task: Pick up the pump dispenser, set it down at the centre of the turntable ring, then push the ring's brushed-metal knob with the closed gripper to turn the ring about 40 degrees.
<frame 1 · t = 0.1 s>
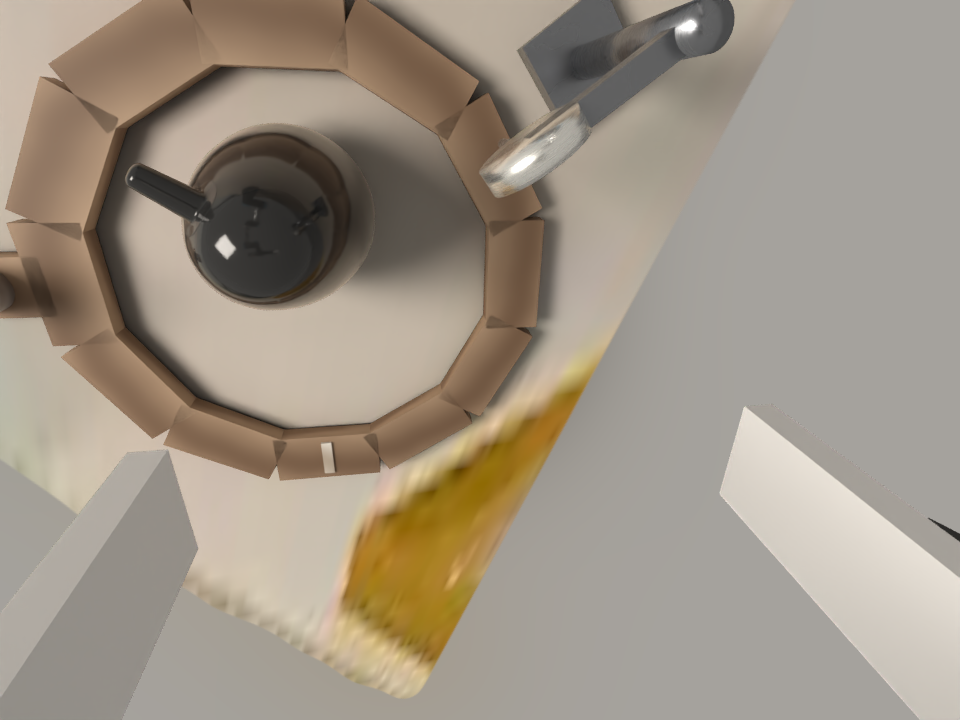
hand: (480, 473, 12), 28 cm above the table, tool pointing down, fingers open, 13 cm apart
dial indicator stand: (577, 64, 33), on the table
pump dispenser: (300, 203, 34), resting in turntable ring
turntable ring: (262, 294, 32), point 5 cm above the table, hinge at 0.0°
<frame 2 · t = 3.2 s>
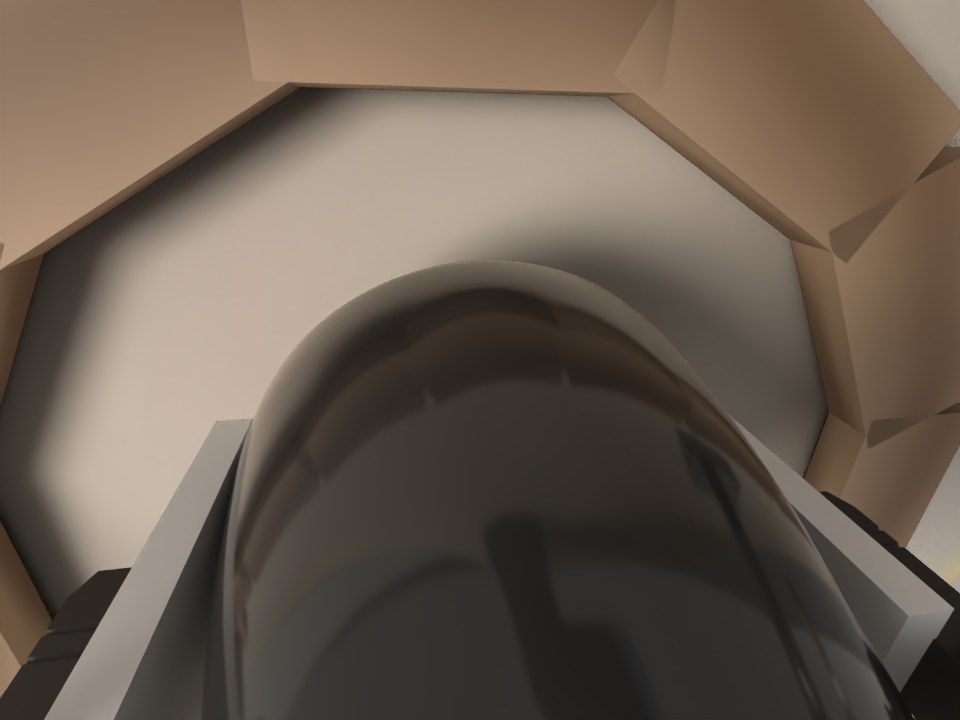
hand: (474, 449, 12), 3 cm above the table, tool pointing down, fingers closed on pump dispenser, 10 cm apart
pump dispenser: (456, 391, 15), resting in turntable ring, touching gripper
turntable ring: (394, 657, 13), point 5 cm above the table, hinge at 0.0°
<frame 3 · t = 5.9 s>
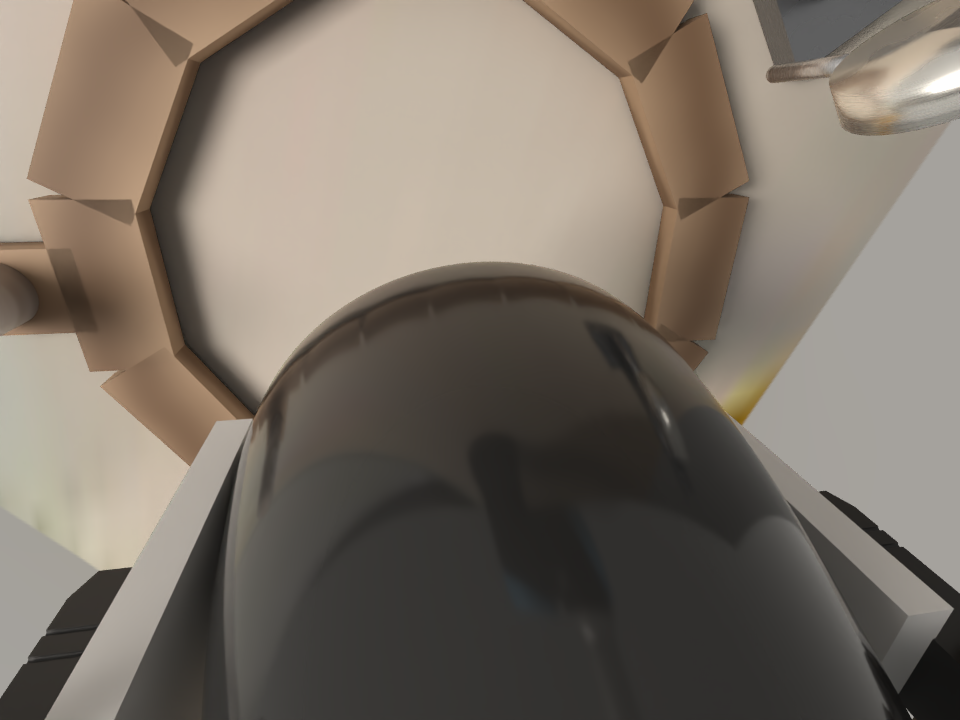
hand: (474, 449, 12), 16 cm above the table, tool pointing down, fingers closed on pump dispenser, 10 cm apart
pump dispenser: (456, 392, 15), point 13 cm above the table, touching gripper
turntable ring: (386, 300, 23), point 5 cm above the table, hinge at 0.0°
when the fingers open (4 cm above the table, at t = 9.1 s): pump dispenser drops 1 cm, resting in turntable ring.
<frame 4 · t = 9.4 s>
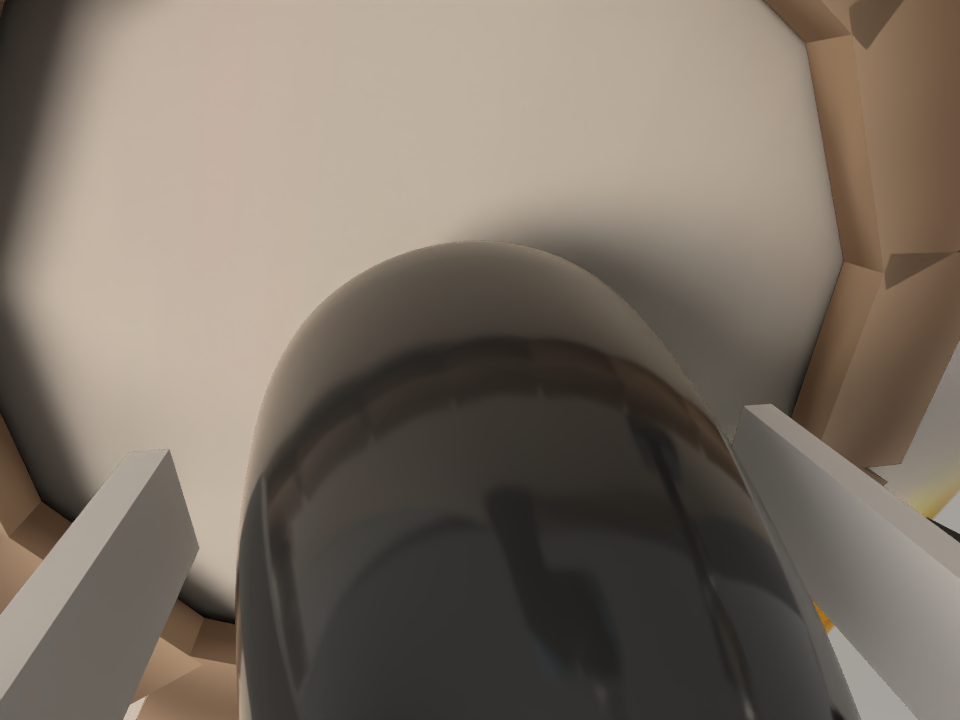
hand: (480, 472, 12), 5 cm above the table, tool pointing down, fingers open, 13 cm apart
pump dispenser: (452, 368, 16), resting in turntable ring
turntable ring: (383, 464, 12), point 5 cm above the table, hinge at 0.0°
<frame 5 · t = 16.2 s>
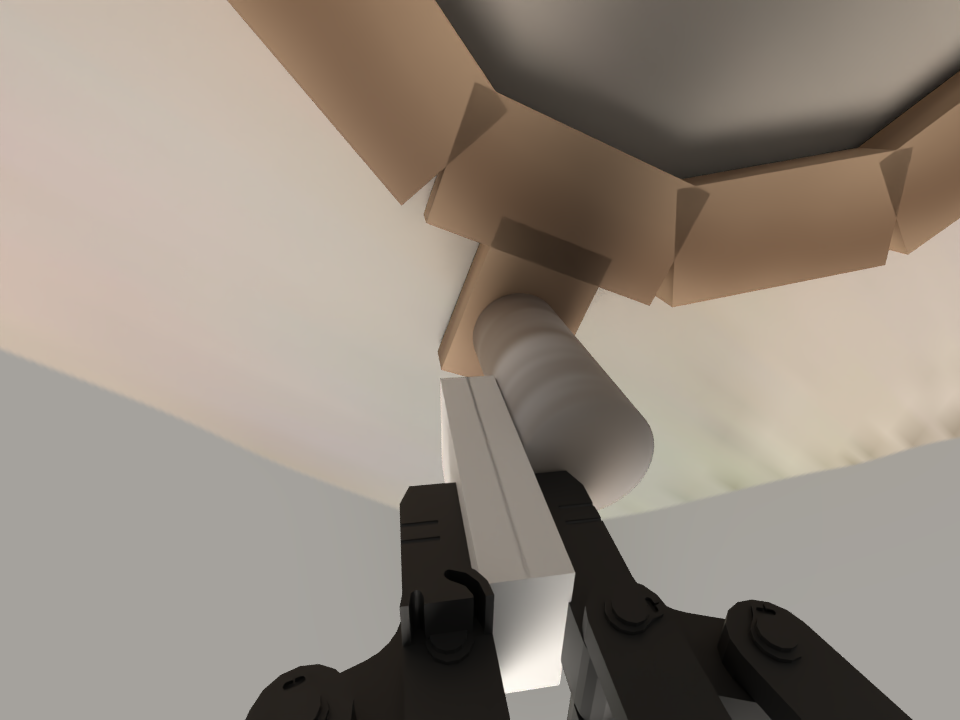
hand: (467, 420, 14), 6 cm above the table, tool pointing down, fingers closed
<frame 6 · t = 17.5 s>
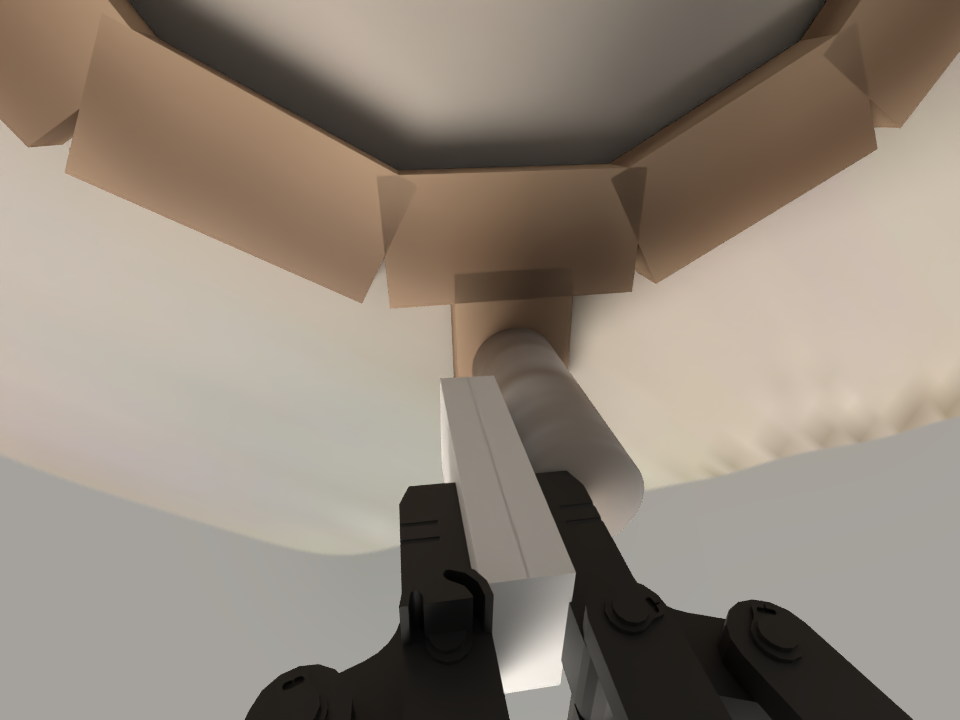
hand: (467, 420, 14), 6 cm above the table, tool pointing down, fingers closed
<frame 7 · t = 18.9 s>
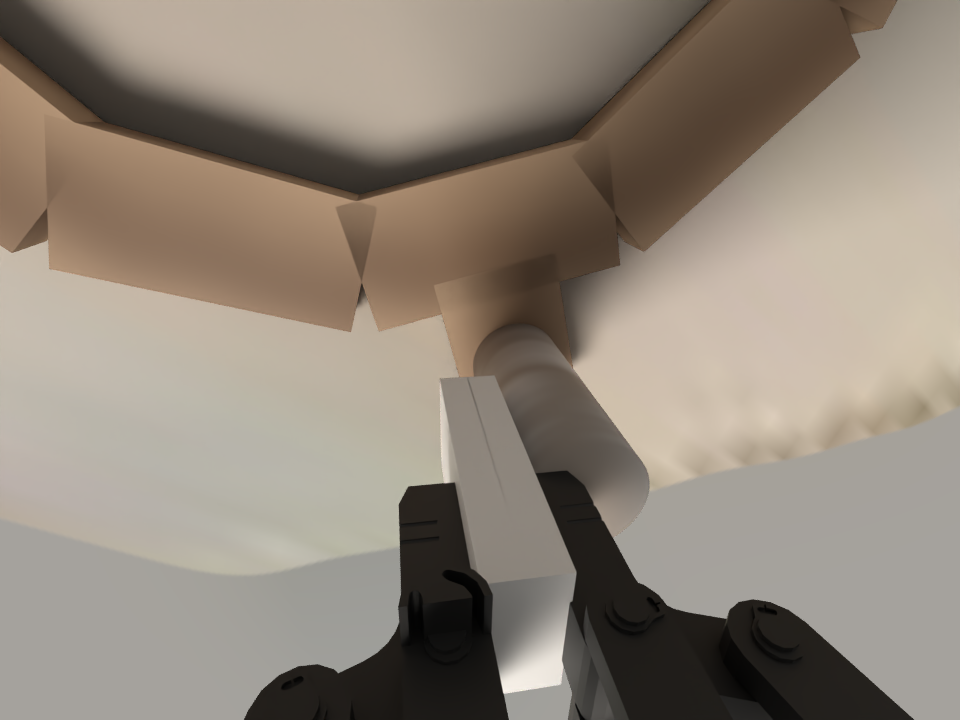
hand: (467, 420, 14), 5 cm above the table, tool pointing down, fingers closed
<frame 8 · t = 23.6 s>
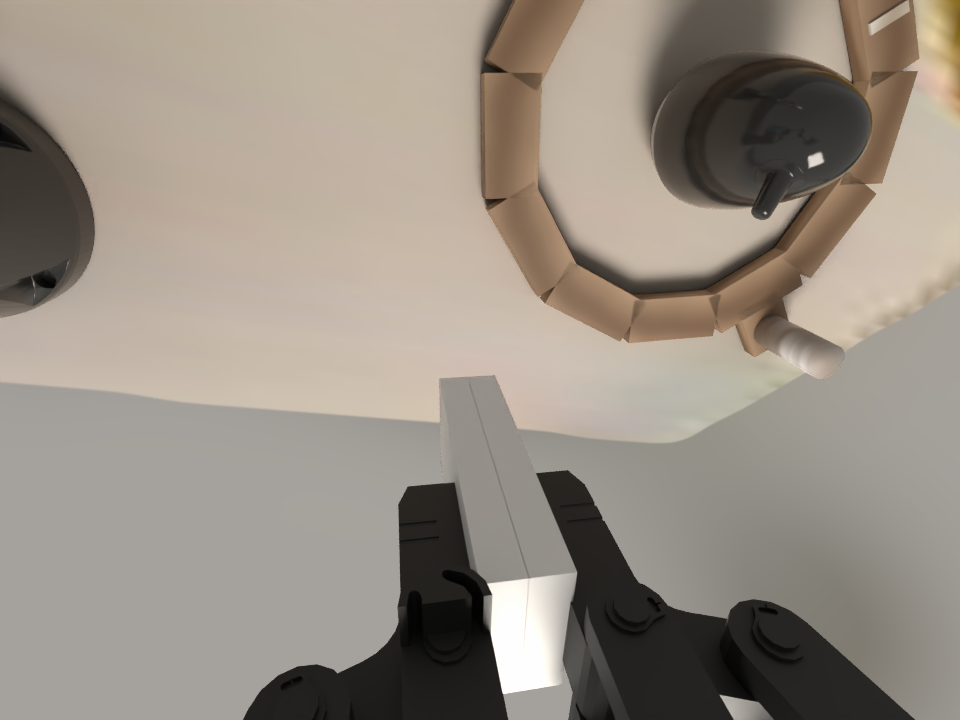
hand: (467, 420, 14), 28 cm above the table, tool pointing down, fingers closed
pump dispenser: (689, 134, 40), resting in turntable ring
turntable ring: (735, 163, 36), point 5 cm above the table, hinge at 32.0°
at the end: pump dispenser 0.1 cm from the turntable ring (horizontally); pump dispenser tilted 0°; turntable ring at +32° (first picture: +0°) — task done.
